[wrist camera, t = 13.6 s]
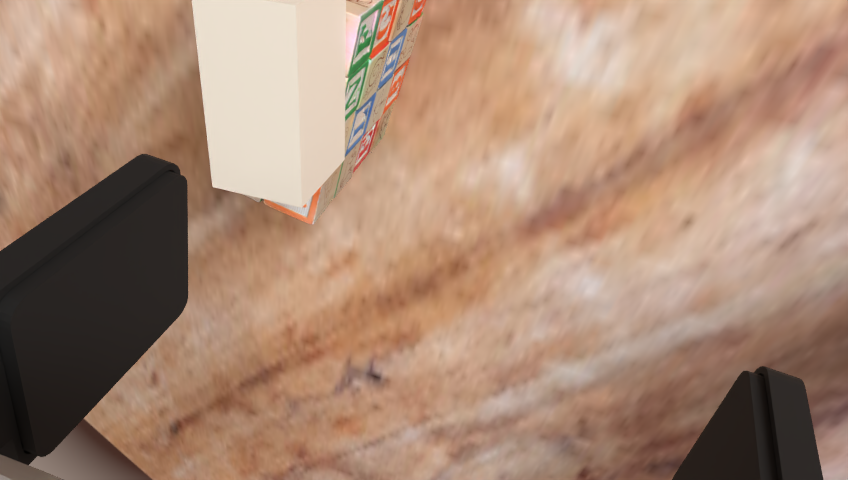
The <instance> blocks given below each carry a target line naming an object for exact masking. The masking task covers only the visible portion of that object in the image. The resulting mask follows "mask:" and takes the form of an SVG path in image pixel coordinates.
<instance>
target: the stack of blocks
mask: <svg viewBox="0 0 848 480" xmlns="http://www.w3.org/2000/svg"><path fill="white" fill-rule="evenodd" d="M425 2H426V0H346V68H345V160H344V161H343V162H342V163H341V164H340V166H339V167H338V168H337V169H336V170H335V171H334V172H333V173H332V175H331V176H330V177H329V178H328V179H327V180H326V181H325V182H324V184H323V185H322V186H321V187H320V188H319V189H318V190H317V191H316V193H315V194H314V195H313V196H312V197H311V198H310V199H309V200H308V202H307V203H306V204H305V205H304V206H303V207H302V208H301V207H296V206H292V205H288V204H283V203H279V202H275V201H270V200H266V199H262V198H258V197H253V196H249V195H245V194H242V195H245V196H247V197H249V198H251V199H253V200H255V201H257V202H261V201H263V202H264V204H266V205H268V206H269V207H271V208H274V209H276V210H278V211H281V212H283V213H285V214H287V215H290V216H292V217H294V218H297V219H299V220H301V221H304V222H306V223H309V224H312V225H313V224H314V223H315V222H316V220H317V219H318V218H319V217H320V215H321V214H322V213H323V211H324V210H325V209H326V207H327V206H328V205H329V203H330V202H331V201H332V199H333V198H335V197H336V195H337V194H338V193H339V192H340V191H341V189H342V188H343V187H344V185H345V184H346V183H347V182H348V181H349V179H350V178H351V177H352V173H353V172H354V171H355V170H356V169H357V168H358V166H359V165H360V164H361V162H362V161H363V160H364V159H365V157H366V156H367V155H368V153H371V152H372V151H373V149H374V148H375V147H376V145H377V144H378V143H379V141H380V140H381V139H382V137H383V136H384V134H385V131H386V128H387V125H388V121H389V118H390V115H391V112H392V109H393V106H394V103H395V100H396V99H397V97H398V94H399V91H400V87H401V84H402V81H403V78H404V75H405V71H406V68H407V65H408V62H409V58H410V55H411V53H412V50H413V47H414V44H415V41H416V37H417V34H418V31H419V28H420V24H421V21H422V18H423V7H424V5H425Z"/></svg>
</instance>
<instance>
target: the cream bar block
mask: <svg viewBox="0 0 848 480" xmlns="http://www.w3.org/2000/svg"><path fill="white" fill-rule="evenodd" d="M192 6H193V15H194V24H195V33H196V42H197V51H198V60H199V70H200V79H201V88H202V97H203V106H204V115H205V124H206V133H207V142H208V151H209V160H210V169H211V178H212V187H214V188H219V189H223V190H227V191H232V192H236V193H240V194H245V195H249V196H253V197H258V198H262V199H266V200H270V201H275V202H279V203H283V204H288V205H292V206H296V207H301V208H302V207H303V206H304V205H305V204H306V203H307V202H308V200H309V199H310V198H311V197H312V196H313V195H314V194H315V193H316V191H317V190H318V189H319V188H320V187H321V186H322V185H323V184H324V182H325V181H326V180H327V179H328V178H329V177H330V176H331V175H332V173H333V172H334V171H335V170H336V169H337V168H338V167H339V166H340V164H341V163H342V162H343V161H344V160H345V68H346V0H192Z"/></svg>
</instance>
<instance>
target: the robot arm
mask: <svg viewBox="0 0 848 480" xmlns="http://www.w3.org/2000/svg"><path fill="white" fill-rule="evenodd" d="M187 299H188V208H187V180H186V178H185V177H184V176H182V175H180V170H179V168H178V166H177V165H175V164H174V163H171V162H168V161H165V160H162V159H159V158H156V157H153V156H150V155H147V154H141V155H139V156H137V157H135V158H134V159H133V160H131V161H130V162H128V163H127V164H125V165H124V166H122V167H121V168H120V169H118V170H117V171H115V172H114V173H112V174H111V175H109V176H108V177H107V178H105V179H104V180H102V181H101V182H99V183H98V184H96V185H95V186H94V187H92V188H91V189H89V190H88V191H86V192H85V193H83V194H82V195H81V196H79V197H78V198H76V199H75V200H73V201H72V202H70V203H69V204H68V205H66V206H65V207H63V208H62V209H60V210H59V211H57V212H56V213H55V214H53V215H52V216H50V217H49V218H47V219H46V220H44V221H43V222H42V223H40V224H39V225H37V226H36V227H34V228H33V229H31V230H30V231H29V232H27V233H26V234H24V235H23V236H21V237H20V238H18V239H17V240H16V241H14V242H13V243H11V244H10V245H8V246H7V247H6V248H4V249H3V250H1V251H0V480H63V479H61V478H58V477H56V476H53V475H51V474H49V473H46V472H44V471H41V470H39V469H36V468H33V467H31V466H28V465H29V464H30V463H31V462H32V461H33V460H34V459H35V458H36V457H37V456H40V457H43V456H46V455H48V454H50V453H51V452H52V451H53V450H54V449H55V448H56V447H57V446H58V445H59V444H60V443H61V442H62V441H63V439H64V438H65V437H66V436H67V435H68V434H69V433H70V432H71V431H72V430H73V429H74V428H75V427H76V426H77V425H78V423H79V422H80V421H81V420H82V419H83V418H84V417H85V416H86V415H87V414H88V413H89V412H90V411H91V410H92V409H93V408H94V406H95V405H96V404H97V403H98V402H99V401H100V400H101V399H102V398H103V397H104V396H105V395H106V394H107V393H108V392H109V390H110V389H111V388H112V387H113V386H114V385H115V384H116V383H117V382H118V381H119V380H120V379H121V378H122V377H123V376H124V374H125V373H126V372H127V371H128V370H129V369H130V368H131V367H132V366H133V365H134V364H135V363H136V362H137V361H138V360H139V358H140V357H141V356H142V355H143V354H144V353H145V352H146V351H147V350H148V349H149V348H150V347H151V346H152V345H153V344H154V342H155V341H156V340H157V339H158V338H159V337H160V336H161V335H162V334H163V333H164V332H165V331H166V330H167V329H168V328H169V327H170V325H171V324H172V323H173V322H174V321H175V320H176V319H177V318H178V317H179V316H180V314H181V313H182V312H183V310H184V308H185V306H186V303H187ZM672 480H823V476H822V471H821V466H820V460H819V455H818V450H817V445H816V440H815V435H814V430H813V425H812V420H811V415H810V409H809V404H808V399H807V394H806V389H805V385H804V382H803V381H802V380H801V379H799V378H796V377H794V376H791V375H788V374H785V373H782V372H779V371H776V370H773V369H770V368H767V367H764V366H762V367H759V368H758V369H757V370H756V371H755V372H754V373H752V372H749V371H743V372H742V373H741V374H740V375H739V377H738V378H737V380H736V381H735V383H734V384H733V386H732V388H731V389H730V391H729V392H728V394H727V395H726V397H725V398H724V400H723V401H722V403H721V404H720V406H719V408H718V409H717V411H716V412H715V414H714V415H713V417H712V418H711V420H710V421H709V423H708V424H707V426H706V427H705V429H704V431H703V432H702V434H701V435H700V437H699V438H698V440H697V441H696V443H695V444H694V446H693V447H692V449H691V451H690V452H689V454H688V455H687V457H686V458H685V460H684V461H683V463H682V464H681V466H680V467H679V469H678V471H677V472H676V474H675V475H674V477H673V479H672Z"/></svg>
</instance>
